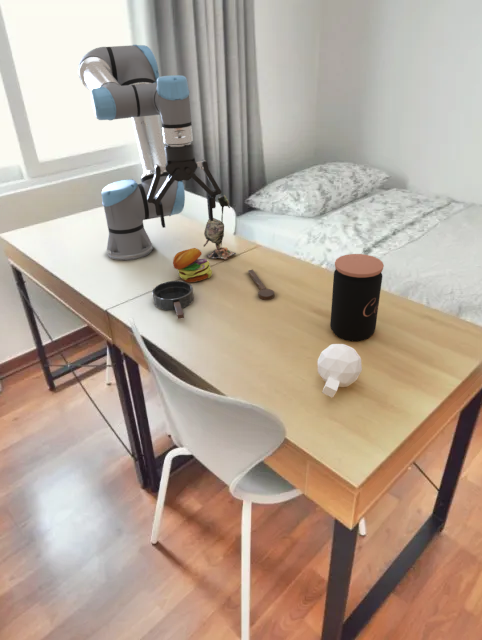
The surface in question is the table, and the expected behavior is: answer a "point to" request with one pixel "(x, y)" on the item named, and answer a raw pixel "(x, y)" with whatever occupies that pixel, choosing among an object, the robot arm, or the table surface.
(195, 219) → the table surface
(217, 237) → the grey brown figurine
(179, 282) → the pan
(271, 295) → the wooden spoon
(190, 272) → the cheeseburger
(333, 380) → the perfume bottle
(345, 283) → the coffee jar
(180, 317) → the pan handle
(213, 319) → the table surface
